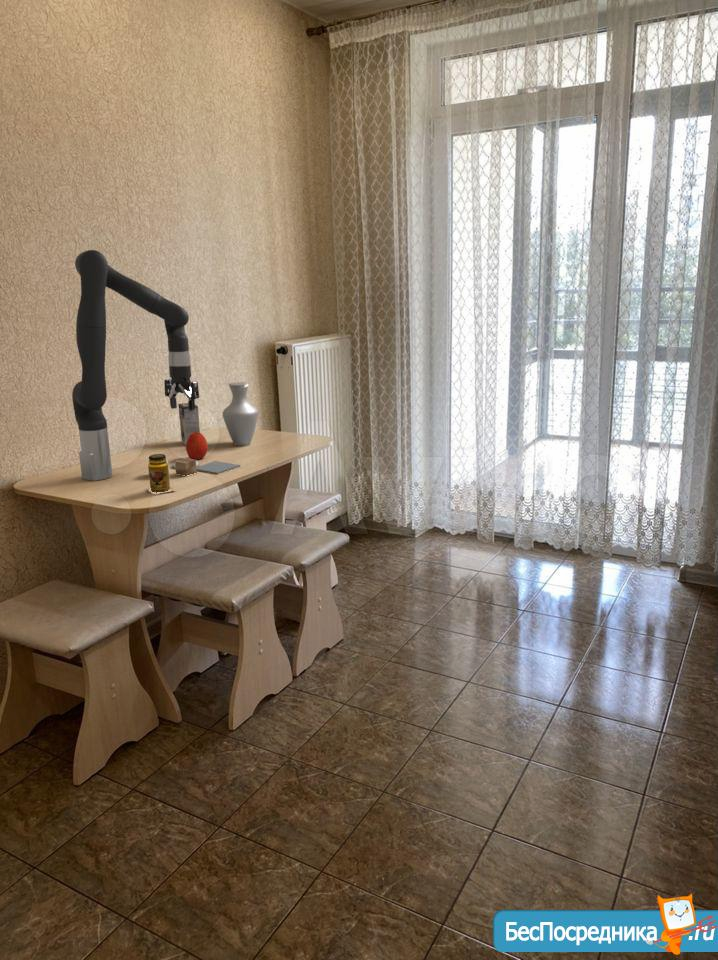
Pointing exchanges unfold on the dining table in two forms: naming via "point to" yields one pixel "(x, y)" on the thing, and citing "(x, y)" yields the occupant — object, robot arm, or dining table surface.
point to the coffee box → (188, 421)
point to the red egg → (196, 446)
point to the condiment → (158, 473)
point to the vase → (240, 415)
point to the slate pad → (217, 467)
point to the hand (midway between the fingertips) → (182, 409)
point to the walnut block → (185, 466)
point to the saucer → (196, 464)
